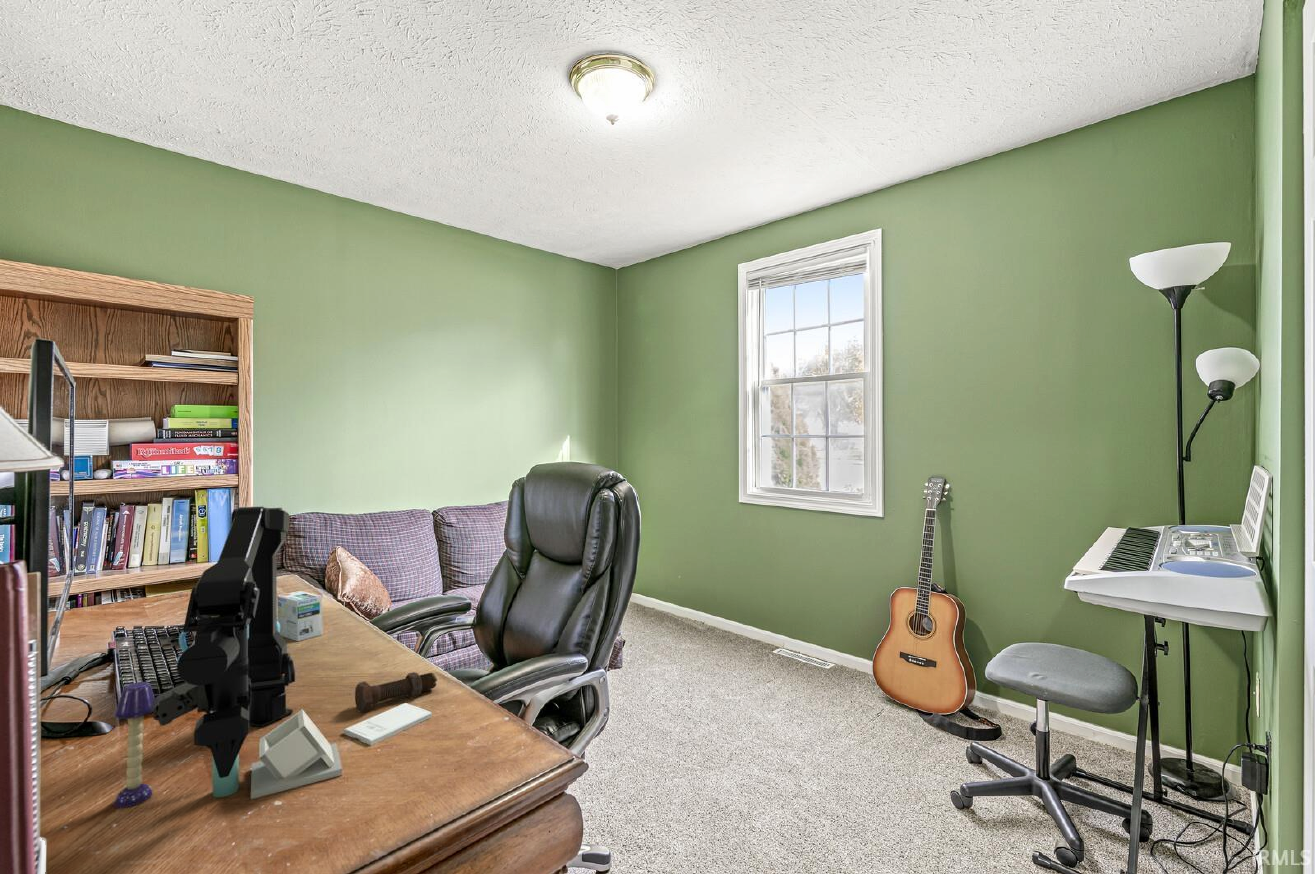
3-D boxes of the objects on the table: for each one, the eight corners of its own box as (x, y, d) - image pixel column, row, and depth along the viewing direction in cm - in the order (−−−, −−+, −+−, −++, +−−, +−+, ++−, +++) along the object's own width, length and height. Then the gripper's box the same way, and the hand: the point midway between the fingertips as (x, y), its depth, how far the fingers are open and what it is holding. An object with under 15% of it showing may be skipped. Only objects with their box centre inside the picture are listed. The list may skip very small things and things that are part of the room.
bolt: (435, 698, 129) (359, 719, 119) (427, 680, 133) (352, 699, 122) (442, 678, 127) (365, 697, 117) (433, 660, 131) (358, 677, 120)
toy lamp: (132, 789, 93) (131, 679, 93) (164, 787, 94) (164, 678, 94) (106, 808, 88) (105, 692, 88) (141, 806, 89) (140, 691, 89)
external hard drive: (431, 720, 117) (371, 748, 106) (404, 710, 121) (343, 736, 111) (431, 711, 117) (370, 739, 106) (404, 702, 121) (343, 727, 111)
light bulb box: (323, 635, 165) (323, 594, 165) (297, 642, 160) (297, 600, 160) (301, 628, 171) (301, 589, 171) (276, 635, 165) (275, 594, 165)
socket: (336, 748, 105) (336, 698, 105) (342, 774, 97) (341, 720, 97) (252, 769, 99) (251, 716, 99) (250, 799, 91) (250, 741, 91)
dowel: (207, 794, 92) (207, 734, 92) (229, 783, 95) (229, 724, 95) (222, 799, 91) (221, 737, 91) (243, 787, 94) (243, 728, 94)
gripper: (165, 651, 96) (166, 751, 96) (145, 694, 81) (146, 813, 81) (250, 638, 102) (251, 732, 102) (248, 675, 86) (249, 787, 87)
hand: (225, 763), depth 93 cm, fingers open, 8 cm apart
